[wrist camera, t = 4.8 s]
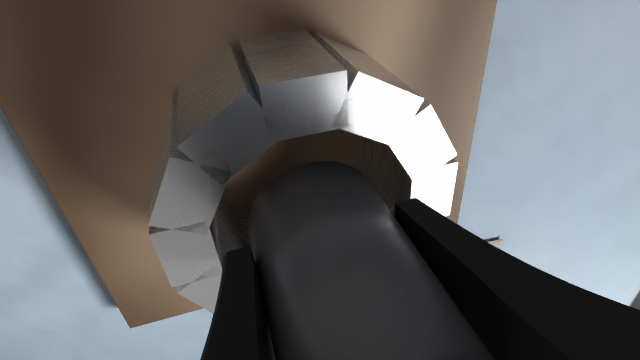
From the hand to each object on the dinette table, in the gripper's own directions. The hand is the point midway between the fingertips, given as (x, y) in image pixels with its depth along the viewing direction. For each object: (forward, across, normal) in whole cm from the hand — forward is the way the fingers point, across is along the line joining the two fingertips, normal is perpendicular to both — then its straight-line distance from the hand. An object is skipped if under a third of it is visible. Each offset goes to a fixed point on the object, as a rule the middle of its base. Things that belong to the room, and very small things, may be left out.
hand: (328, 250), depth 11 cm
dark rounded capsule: (+1, 0, 0) cm, 1 cm away
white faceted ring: (+6, 0, 0) cm, 6 cm away
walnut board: (+6, 0, 0) cm, 6 cm away
